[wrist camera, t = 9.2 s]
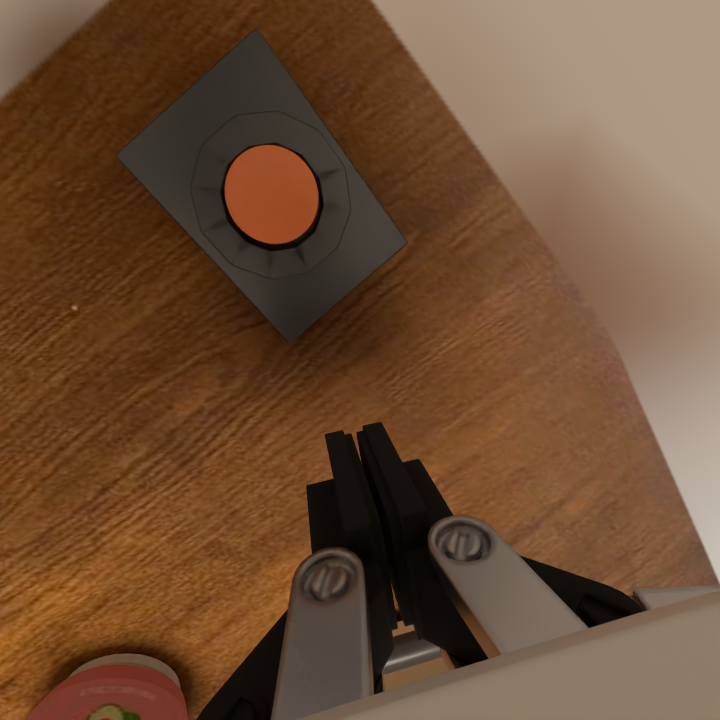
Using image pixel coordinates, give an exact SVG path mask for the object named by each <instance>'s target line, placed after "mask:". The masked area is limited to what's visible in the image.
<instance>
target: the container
mask: <svg viewBox="0 0 720 720" xmlns="http://www.w3.org/2000/svg"><path fill="white" fill-rule="evenodd" d="M26 720H188V716H187V709H186V703H185V699H184V695H183V693H182V691H181V690H180V683H179V679H178V677H177V675H176V674H175V672H174V671H173V670H172V669H171V668H170V667H169V666H168V665H166V664H165V663H163V662H162V661H160V660H157V659H155V658H153V657H149V656H145V655H141V654H130V653H125V654H113V655H108V656H103V657H100V658H97V659H94V660H91V661H89V662H87V663H85V664H83V665H82V666H80V667H79V668H77V669H76V670H75V671H73V672H72V673H71V675H70V676H69V677H68V678H67V679H65V680H64V681H62V682H61V683H60V684H58V685H57V686H56V687H54V688H53V689H52V690H51V692H50V693H49V694H48V695H47V696H46V697H45V698H44V699H43V700H42V701H41V702H40V703H39V704H38V705H37V706H36V707H35V708H34V709H33V710H32V711H31V712H30V713H29V715H28V716H27V718H26Z"/></svg>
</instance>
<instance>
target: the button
mask: <svg viewBox="0 0 720 720" xmlns="http://www.w3.org/2000/svg"><path fill="white" fill-rule="evenodd" d="M225 200H226V204H227V208H228V210H229V213H230V215H231V217H232V218H233V220H234V222H235V223H236V224H237V225H238V227H239V228H240V229H241V230H242V231H243V232H245V233H246V234H247V235H249V236H250V237H252V238H254V239H256V240H258V241H261V242H264V243H269V244H282V243H286V242H290V241H292V240H294V239H296V238H298V237H300V236H301V235H302V234H303V233H304V232H305V231H306V230H307V229H308V228H309V227H310V225H311V224H312V222H313V220H314V218H315V216H316V213H317V209H318V201H319V195H318V188H317V184H316V181H315V178H314V176H313V174H312V172H311V170H310V169H309V167H308V166H307V164H306V163H305V162H304V161H303V160H302V159H301V158H300V157H299V156H298V155H296V154H295V153H293V152H292V151H290V150H288V149H286V148H283V147H280V146H276V145H260V146H256V147H253V148H250V149H248V150H246V151H245V152H243V153H242V154H241V155H239V156H238V157H237V158H236V160H235V161H234V162H233V164H232V165H231V167H230V169H229V171H228V174H227V176H226V181H225Z"/></svg>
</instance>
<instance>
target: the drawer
mask: <svg viewBox="0 0 720 720" xmlns="http://www.w3.org/2000/svg"><path fill="white" fill-rule="evenodd" d="M397 624H398V629H396V630H392V634H393V640H394V646H395V648H394V650H393V652H392V654H391V655H390V657H389V659H388V661H387V663H386V665H385V666H384V668H383V675H384V681H385V691H388V690H391V689H394V688H397V687H400V686H403V685H407V684H410V683H413V682H416V681H419V680H423V679H426V678H429V677H432V676H435V675H439V674H442V673H445V672H448V671H449V670H448V669H447V667H446V665H445V663H444V661H443V658H442V655H441V653H440V648H439V647H438V646H436V645H434V644H432V643H430V642H428V641H426V640H424V639H422V640H419V641H418V638H417V635H416V632H415V629H414V626H413V625H409V626H406V627H405V625H404V623H403V621H400V622H397Z"/></svg>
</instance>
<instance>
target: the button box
mask: <svg viewBox="0 0 720 720" xmlns="http://www.w3.org/2000/svg"><path fill="white" fill-rule="evenodd" d="M260 145H276V146H280V147H283V148H286V149H288V150H290V151H292V152H293V153H295V154H296V155H298V156H299V157H300V158H301V159H302V160H303V161H304V162H305V163H306V164H307V166H308V167H309V169H310V170H311V172H312V174H313V176H314V178H315V181H316V184H317V188H318V195H319V201H318V209H317V213H316V216H315V218H314V220H313V222H312V224H311V225H310V227H309V228H308V229H307V230H306V231H305V232H304V233H303V234H302V235H301V236H300V237H298V238H296V239H294V240H292V241H290V242H286V243H282V244H269V243H264V242H261V241H258V240H256V239H254V238H252V237H250V236H249V235H247V234H246V233H245V232H243V231H242V230H241V229H240V228H239V227H238V225H237V224H236V223H235V222H234V220H233V218H232V217H231V215H230V213H229V210H228V208H227V204H226V200H225V181H226V176H227V174H228V171H229V169H230V167H231V165H232V164H233V162H234V161H235V160H236V158H237V157H238V156H239V155H241V154H242V153H243V152H245V151H246V150H248V149H250V148H253V147H256V146H260ZM116 157H117V158H118V159H119V160H120V162H121V163H122V164H123V165H124V166H125V167H126V168H127V169H128V170H129V171H130V172H131V173H132V174H133V176H134V177H135V178H136V179H137V180H138V181H139V182H140V183H141V184H142V185H143V186H144V187H145V188H146V190H147V191H148V192H149V193H150V194H151V195H152V196H153V197H154V198H155V199H156V200H157V201H158V202H159V204H160V205H161V206H162V207H163V208H164V209H165V210H166V211H167V212H168V213H169V214H170V215H171V216H172V218H173V219H174V220H175V221H176V222H177V223H178V224H179V225H180V226H181V227H182V228H183V229H184V230H185V231H186V233H187V234H188V235H189V236H190V237H191V238H192V239H193V240H194V241H195V242H196V243H197V244H198V245H199V247H200V248H201V249H202V250H203V251H204V252H205V253H206V254H207V255H208V256H209V257H210V258H211V259H212V261H213V262H214V263H215V264H216V265H217V266H218V267H219V268H220V269H221V270H222V271H223V272H224V273H225V275H226V276H227V277H228V278H229V279H230V280H231V281H232V282H233V283H234V284H235V285H236V286H237V287H238V289H239V290H240V291H241V292H242V293H243V294H244V295H245V296H246V297H247V298H248V299H249V300H250V301H251V303H252V304H253V305H254V306H255V307H256V308H257V309H258V310H259V311H260V312H261V313H262V314H263V315H264V317H265V318H266V319H267V320H268V321H269V322H270V323H271V324H272V325H273V326H274V327H275V328H276V329H277V331H278V332H279V333H280V334H281V335H282V336H283V337H284V338H285V339H286V340H287V341H288V342H289V343H290V342H292V341H293V340H294V339H295V338H296V337H297V336H299V335H300V334H301V333H302V332H303V331H305V330H306V329H307V328H308V327H309V326H311V325H312V324H313V323H314V322H315V321H316V320H318V319H319V318H320V317H321V316H322V315H324V314H325V313H326V312H327V311H328V310H329V309H331V308H332V307H333V306H334V305H335V304H337V303H338V302H339V301H340V300H341V299H343V298H344V297H345V296H346V295H347V294H348V293H350V292H351V291H352V290H353V289H354V288H356V287H357V286H358V285H359V284H360V283H361V282H363V281H364V280H365V279H366V278H367V277H369V276H370V275H371V274H372V273H373V272H375V271H376V270H377V269H378V268H379V267H380V266H382V265H383V264H384V263H385V262H386V261H388V260H389V259H390V258H391V257H392V256H393V255H395V254H396V253H397V252H398V251H399V250H401V249H402V248H403V247H404V246H405V245H407V243H408V242H407V240H406V239H405V238H404V236H403V235H402V233H401V232H400V230H399V229H398V228H397V226H396V225H395V223H394V222H393V221H392V219H391V218H390V216H389V215H388V213H387V212H386V211H385V209H384V208H383V206H382V205H381V203H380V202H379V201H378V199H377V198H376V196H375V195H374V194H373V192H372V191H371V189H370V188H369V186H368V185H367V184H366V182H365V181H364V179H363V178H362V176H361V175H360V174H359V172H358V171H357V169H356V168H355V167H354V165H353V164H352V162H351V161H350V159H349V158H348V157H347V155H346V154H345V152H344V151H343V149H342V148H341V147H340V145H339V144H338V142H337V141H336V140H335V138H334V137H333V135H332V134H331V132H330V131H329V130H328V128H327V127H326V125H325V124H324V122H323V121H322V120H321V118H320V117H319V115H318V114H317V113H316V111H315V110H314V108H313V107H312V105H311V104H310V103H309V101H308V100H307V98H306V97H305V95H304V94H303V93H302V91H301V90H300V88H299V87H298V86H297V84H296V83H295V81H294V80H293V78H292V77H291V76H290V74H289V73H288V71H287V70H286V68H285V67H284V66H283V64H282V63H281V61H280V60H279V59H278V57H277V56H276V54H275V53H274V51H273V50H272V49H271V47H270V46H269V44H268V43H267V41H266V40H265V39H264V37H263V36H262V34H261V33H260V32H259V30H258V29H257V28H255V29H254V30H253V31H252V32H251V33H250V34H249V35H248V36H246V37H245V38H244V39H243V40H242V41H241V42H240V43H239V44H238V45H236V46H235V47H234V48H233V49H232V50H231V51H230V52H229V53H228V54H227V55H225V56H224V57H223V58H222V59H221V60H220V61H219V62H218V63H217V64H215V65H214V66H213V67H212V68H211V69H210V70H209V71H208V72H207V73H206V74H204V75H203V76H202V77H201V78H200V79H199V80H198V81H197V82H196V83H194V84H193V85H192V86H191V87H190V88H189V89H188V90H187V91H186V92H184V93H183V94H182V95H181V96H180V97H179V98H178V99H177V100H176V101H175V102H173V103H172V104H171V105H170V106H169V107H168V108H167V109H166V110H165V111H163V112H162V113H161V114H160V115H159V116H158V117H157V118H156V119H155V120H154V121H152V122H151V123H150V124H149V125H148V126H147V127H146V128H145V129H144V130H142V131H141V132H140V133H139V134H138V135H137V136H136V137H135V138H134V139H133V140H131V141H130V142H129V143H128V144H127V145H126V146H125V147H124V148H123V149H121V150H120V151H119V152H118V153H117V154H116Z"/></svg>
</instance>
